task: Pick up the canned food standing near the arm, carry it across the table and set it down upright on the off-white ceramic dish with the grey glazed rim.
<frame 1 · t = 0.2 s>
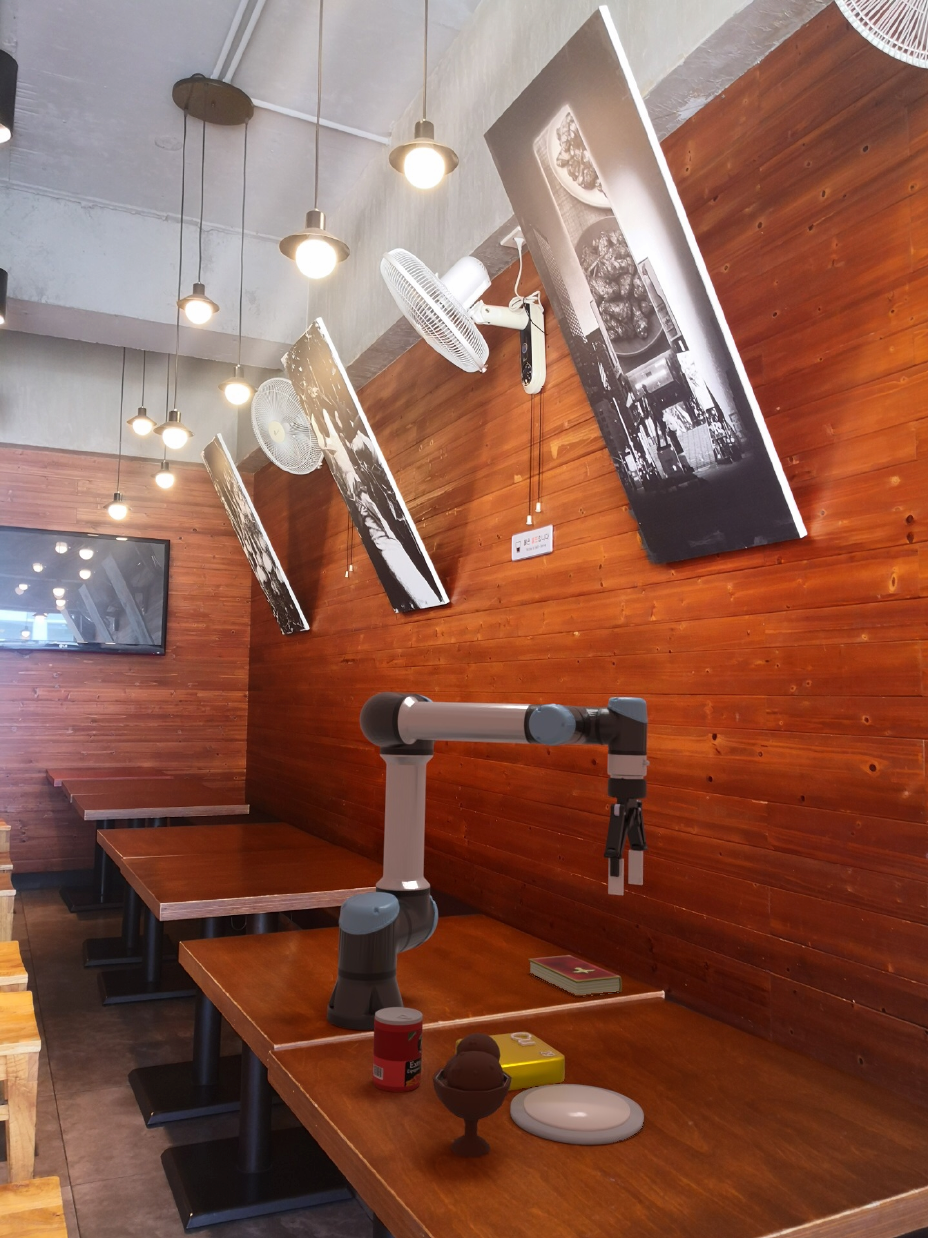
hand: (626, 889, 184), 28 cm above the table, tool pointing down, fingers open, 13 cm apart
dish: (576, 1116, 145), on the table
hardcover book: (573, 986, 220), on the table
ice cream bowl: (470, 1150, 133), on the table
canned food: (396, 1085, 156), on the table
element tile: (508, 1076, 163), on the table
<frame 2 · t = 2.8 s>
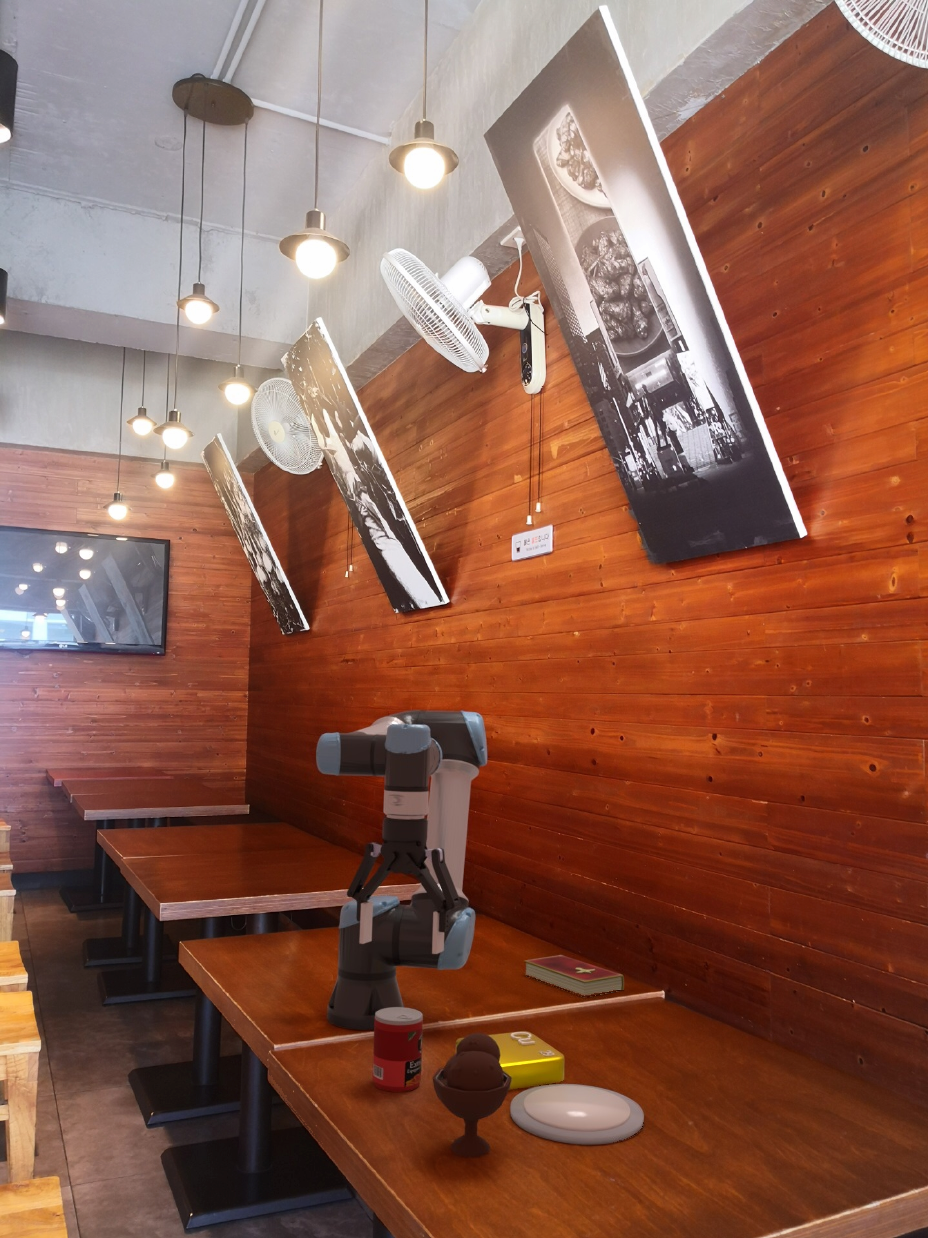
hand: (401, 947, 158), 22 cm above the table, tool pointing down, fingers open, 13 cm apart
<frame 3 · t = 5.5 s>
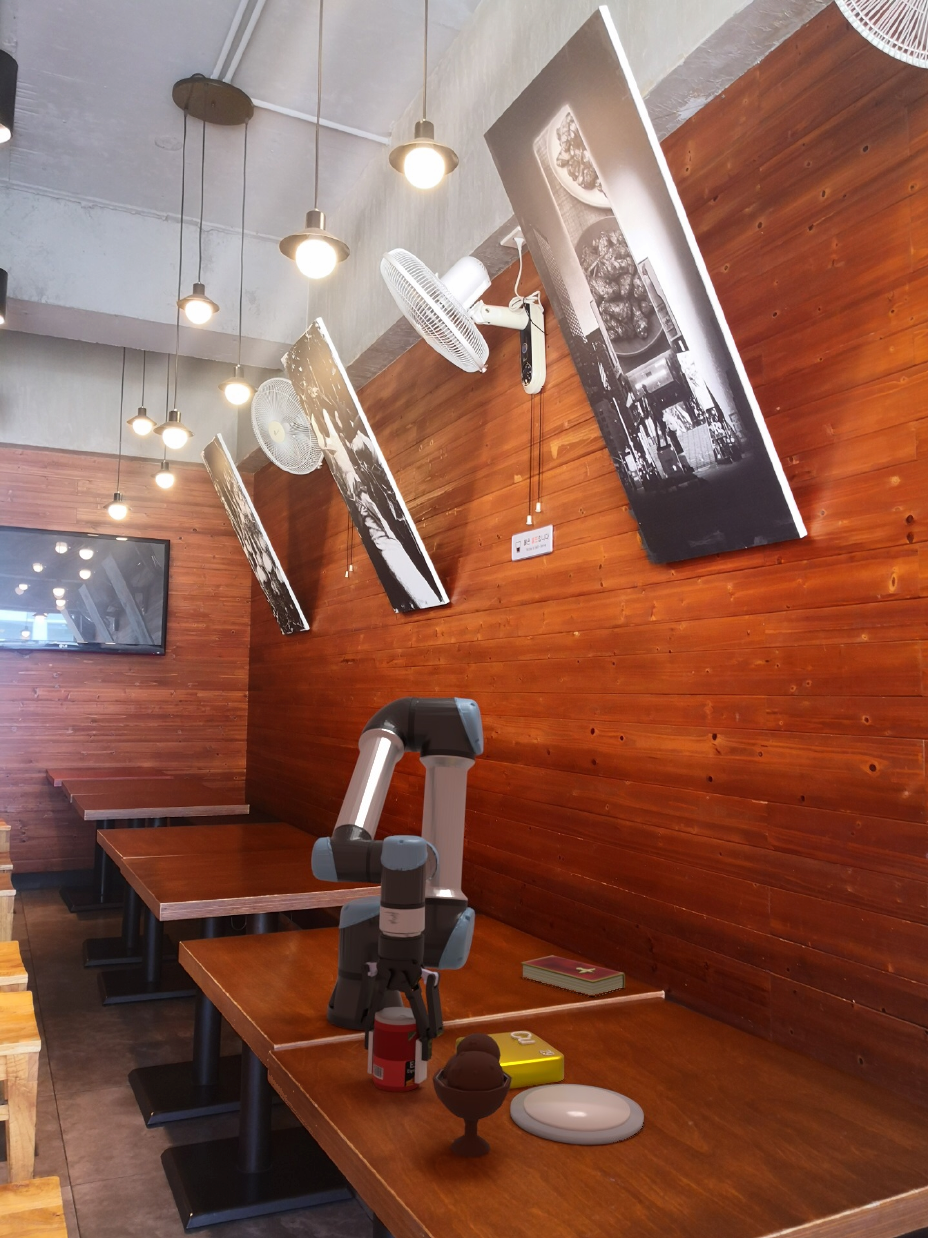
hand: (396, 1075, 156), 1 cm above the table, tool pointing down, fingers closed on canned food, 8 cm apart
canned food: (396, 1085, 156), on the table, touching gripper
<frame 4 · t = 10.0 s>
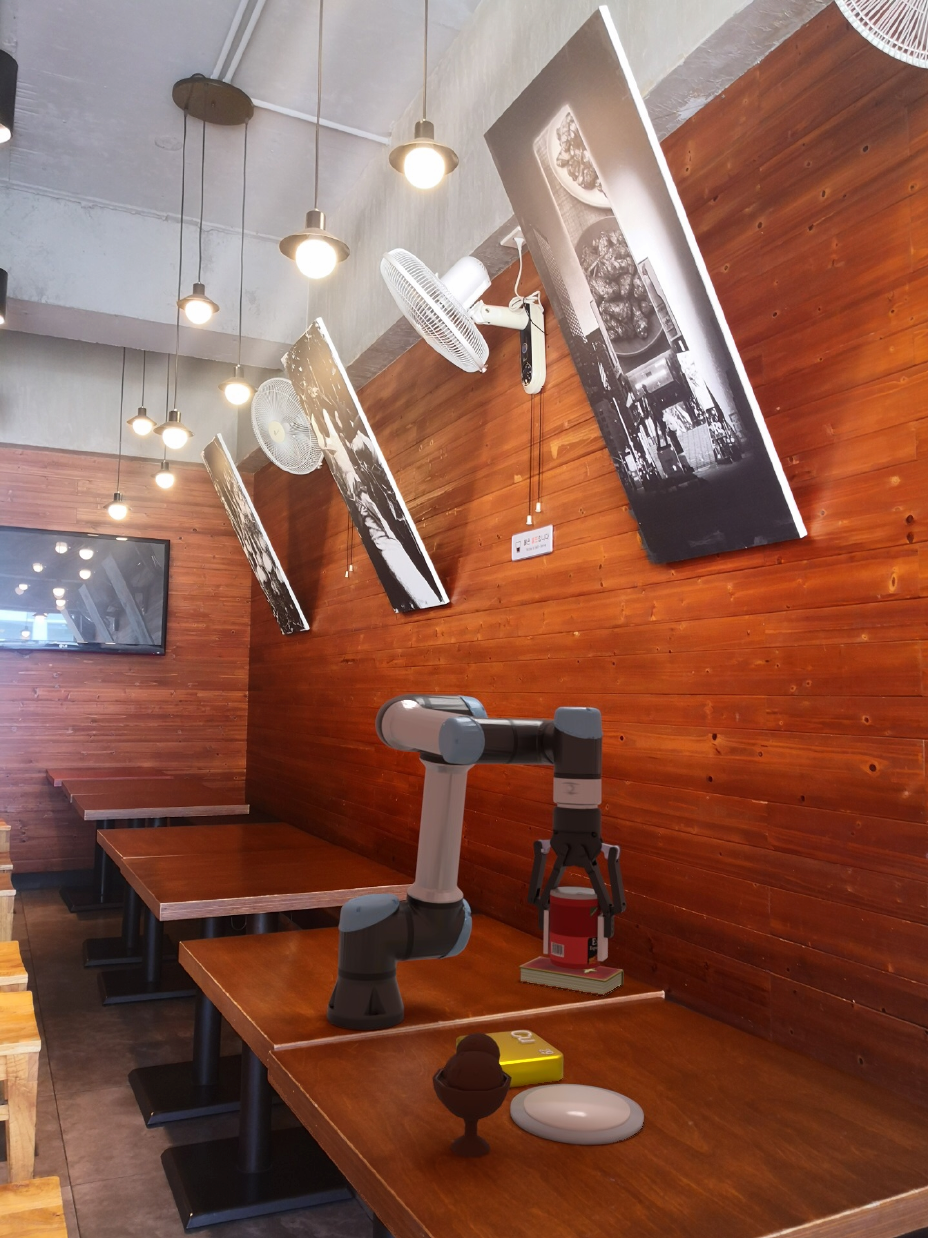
hand: (575, 955, 148), 24 cm above the table, tool pointing down, fingers closed on canned food, 8 cm apart
canned food: (574, 965, 147), point 22 cm above the table, touching gripper
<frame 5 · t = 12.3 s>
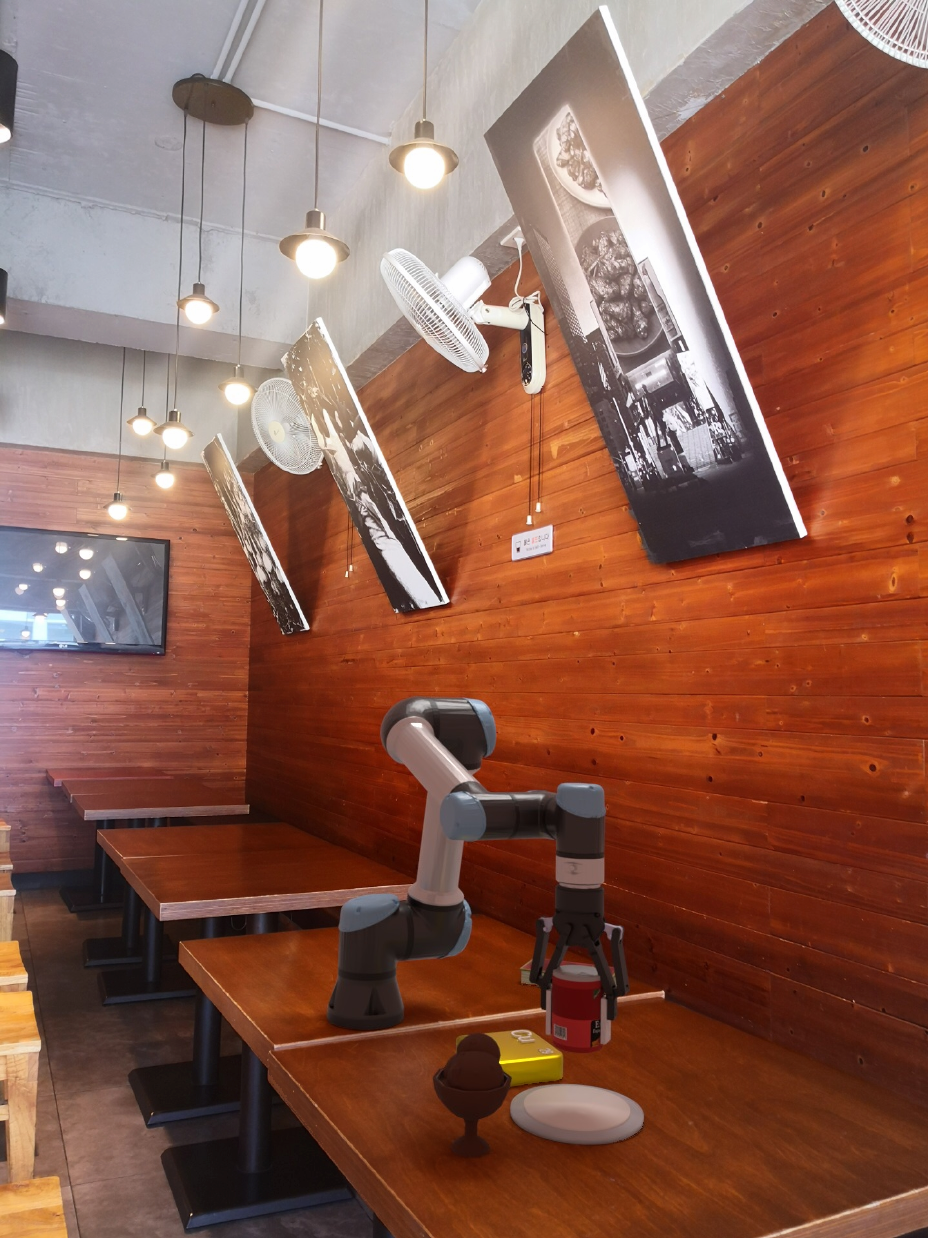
hand: (577, 1037, 146), 12 cm above the table, tool pointing down, fingers closed on canned food, 8 cm apart
canned food: (577, 1047, 146), point 10 cm above the table, touching gripper
when the fingers open (5 cm above the table, at t = 14.5 s): canned food drops 2 cm, resting on dish.
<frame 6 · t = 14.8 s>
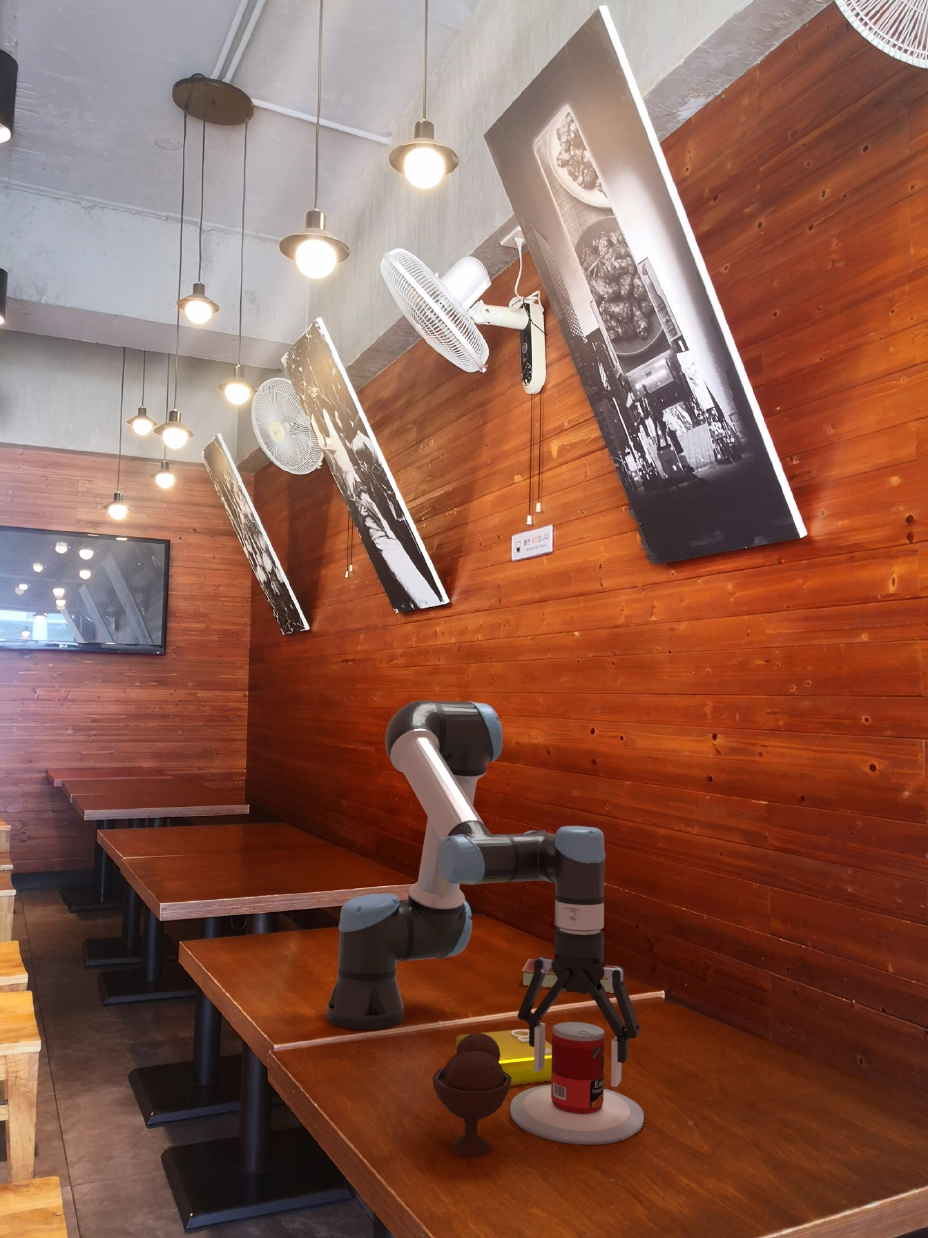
hand: (577, 1076, 146), 6 cm above the table, tool pointing down, fingers open, 11 cm apart
canned food: (577, 1106, 145), point 1 cm above the table, touching dish
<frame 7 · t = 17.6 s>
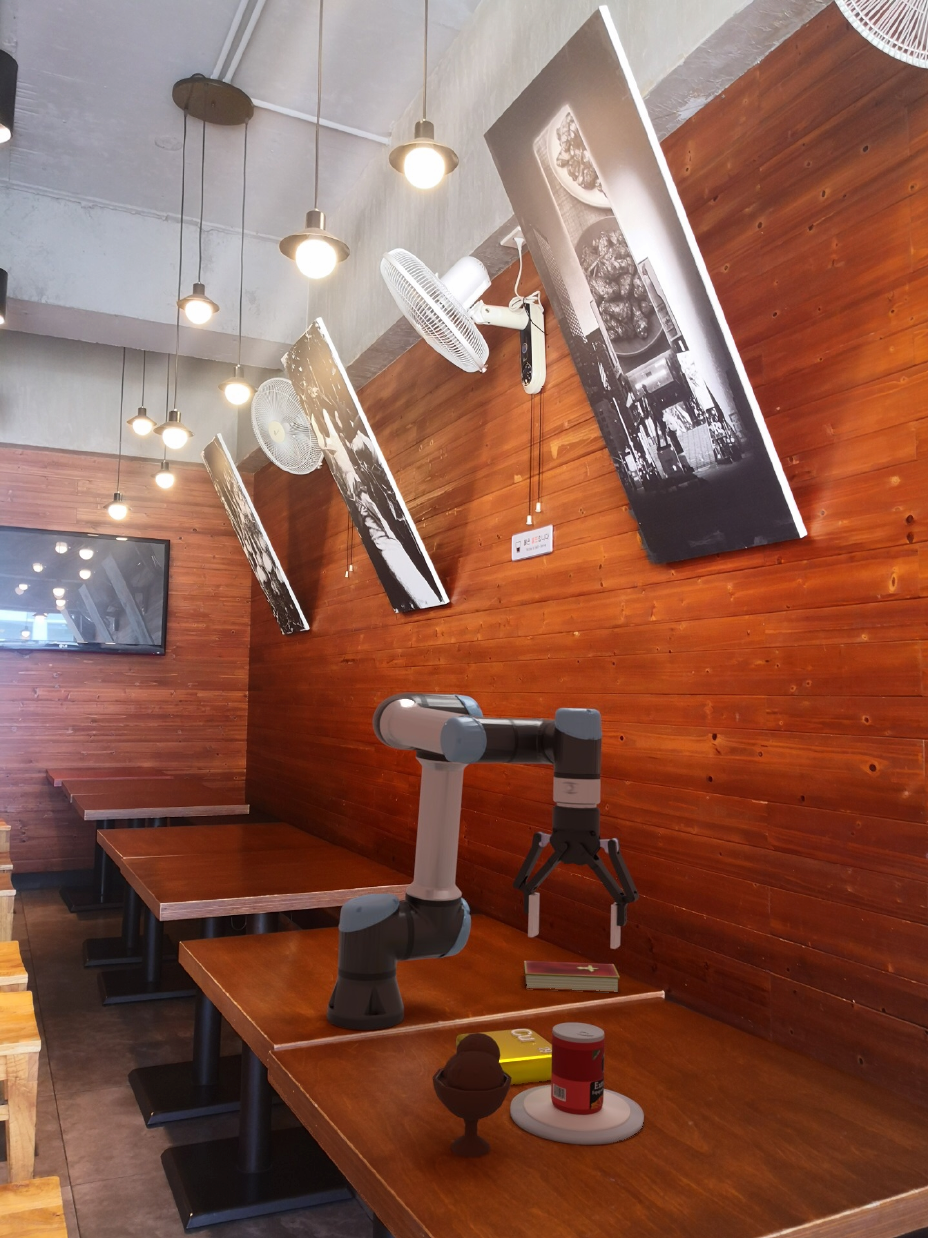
hand: (573, 941, 151), 25 cm above the table, tool pointing down, fingers open, 13 cm apart
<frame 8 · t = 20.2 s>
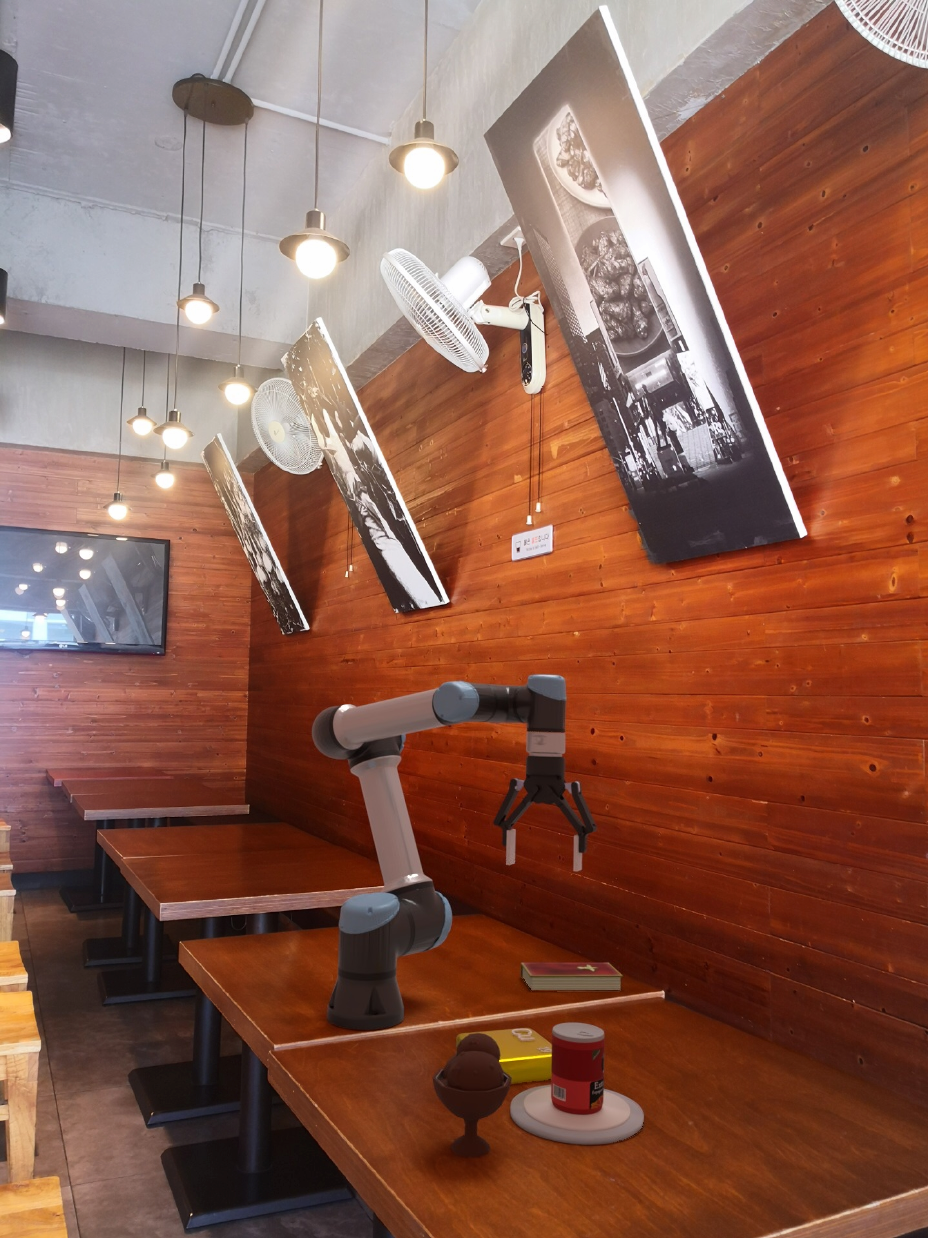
hand: (543, 867, 183), 32 cm above the table, tool pointing down, fingers open, 13 cm apart
at the end: canned food inside the target area on the dish (0.1 cm from its centre), point 1.3 cm above the dish's base; canned food tilted 0°; the gripper is holding nothing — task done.
